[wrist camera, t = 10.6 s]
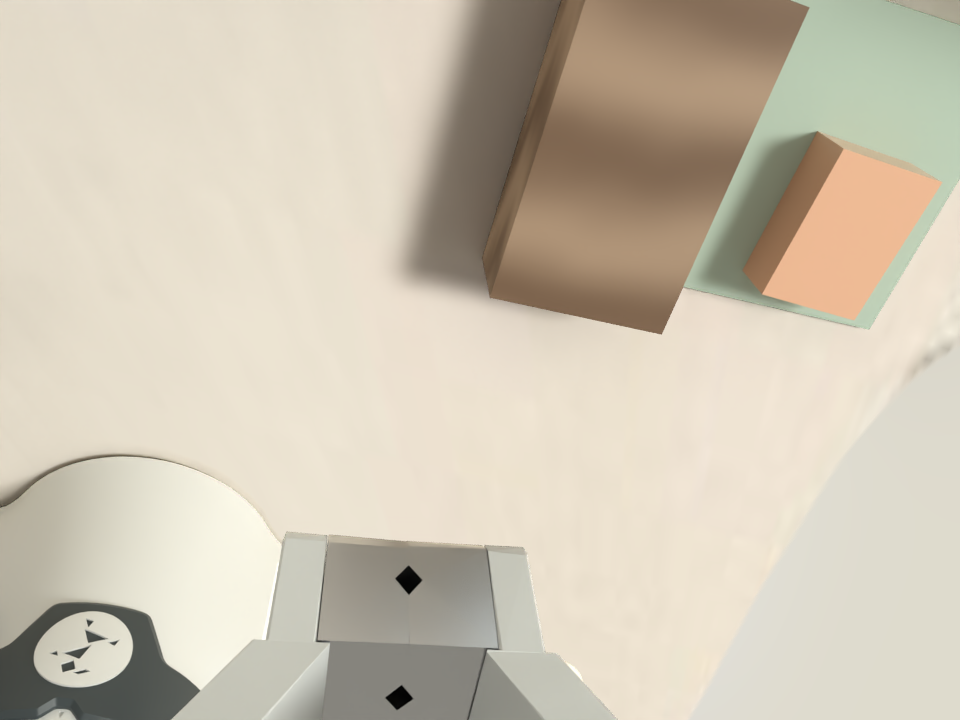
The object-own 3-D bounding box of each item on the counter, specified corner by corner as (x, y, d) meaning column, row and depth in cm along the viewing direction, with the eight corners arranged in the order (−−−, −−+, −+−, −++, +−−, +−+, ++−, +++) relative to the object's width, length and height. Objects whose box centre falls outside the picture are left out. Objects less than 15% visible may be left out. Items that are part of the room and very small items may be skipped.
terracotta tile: (762, 294, 37) (742, 270, 39) (854, 320, 38) (830, 295, 40) (843, 148, 33) (817, 131, 35) (942, 182, 34) (911, 163, 37)
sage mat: (865, 325, 42) (869, 329, 41) (661, 278, 39) (663, 282, 39) (1030, 48, 35) (1036, 50, 34) (795, -30, 32) (799, -29, 32)
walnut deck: (639, 293, 39) (661, 334, 36) (482, 257, 38) (490, 297, 34) (767, -9, 33) (809, 7, 29) (582, -69, 31) (604, -59, 28)
